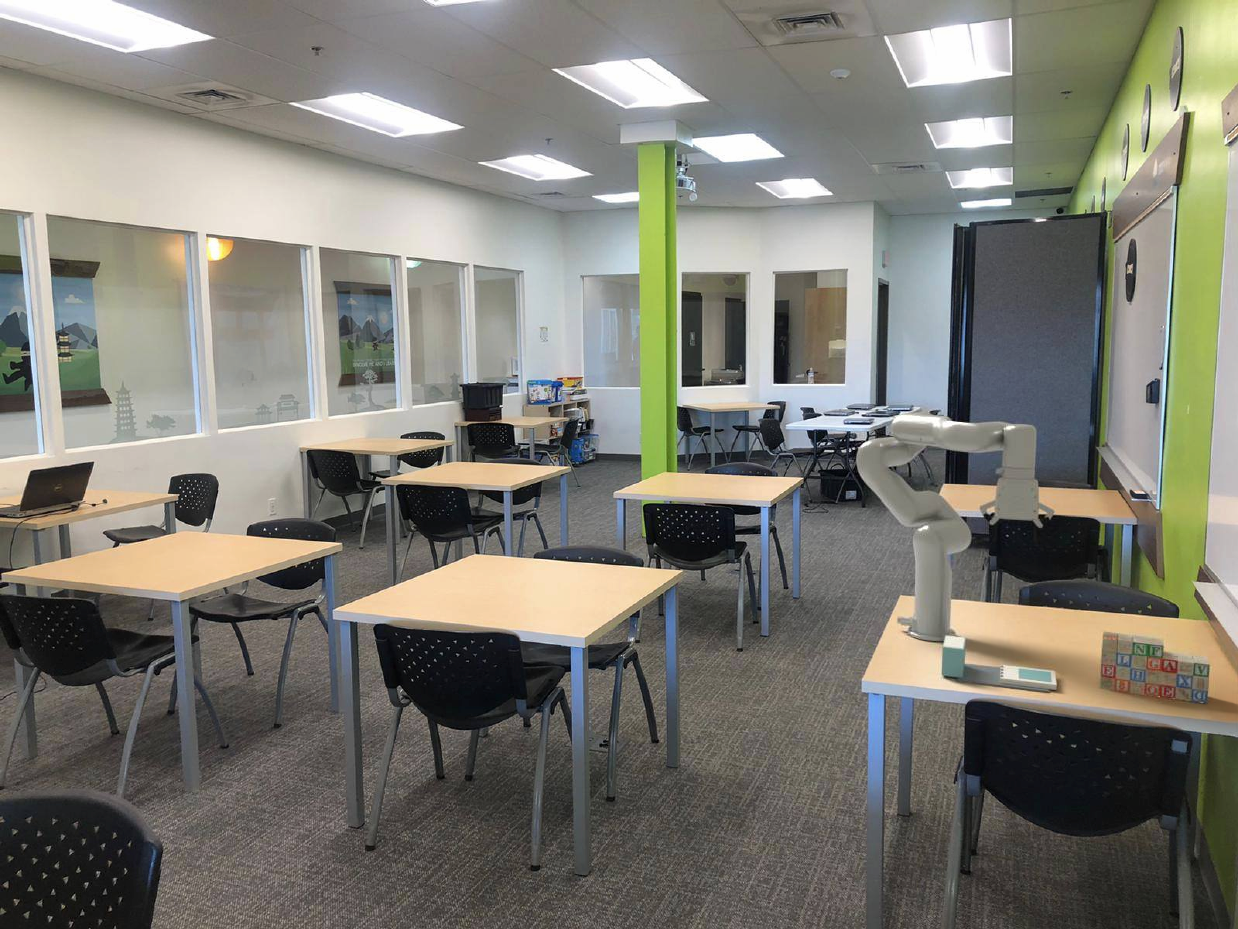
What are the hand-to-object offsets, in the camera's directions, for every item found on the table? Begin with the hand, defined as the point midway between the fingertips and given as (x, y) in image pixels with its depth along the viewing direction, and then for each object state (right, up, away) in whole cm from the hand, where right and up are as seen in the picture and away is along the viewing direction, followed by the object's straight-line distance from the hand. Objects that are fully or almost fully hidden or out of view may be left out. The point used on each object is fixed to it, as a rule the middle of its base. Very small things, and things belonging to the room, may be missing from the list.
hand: (1015, 541), depth 234 cm
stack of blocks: (+23, -33, -21) cm, 45 cm away
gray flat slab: (-7, -32, -11) cm, 35 cm away
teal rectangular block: (-18, -32, -7) cm, 37 cm away
